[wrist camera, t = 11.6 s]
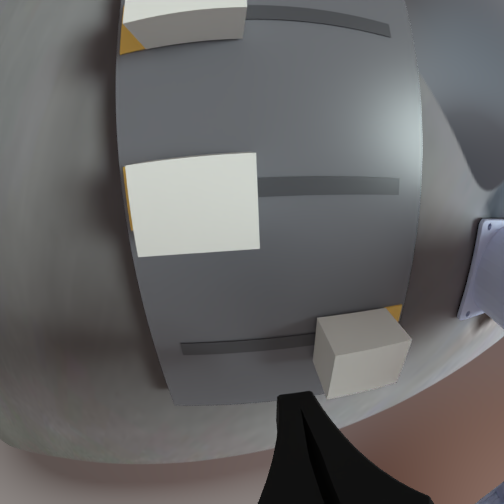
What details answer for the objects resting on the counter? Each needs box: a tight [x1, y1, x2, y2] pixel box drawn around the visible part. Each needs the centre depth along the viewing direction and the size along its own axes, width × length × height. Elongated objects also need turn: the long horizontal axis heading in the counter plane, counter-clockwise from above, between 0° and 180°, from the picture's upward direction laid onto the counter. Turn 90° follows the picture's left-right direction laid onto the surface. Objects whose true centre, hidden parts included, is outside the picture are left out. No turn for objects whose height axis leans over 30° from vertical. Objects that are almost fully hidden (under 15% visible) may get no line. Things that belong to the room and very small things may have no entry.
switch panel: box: [116, 0, 423, 406], centre depth 12 cm, size 14×26×2 cm, turn 3°
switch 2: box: [125, 152, 260, 257], centre depth 10 cm, size 4×3×3 cm
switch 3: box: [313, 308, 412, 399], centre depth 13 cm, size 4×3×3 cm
